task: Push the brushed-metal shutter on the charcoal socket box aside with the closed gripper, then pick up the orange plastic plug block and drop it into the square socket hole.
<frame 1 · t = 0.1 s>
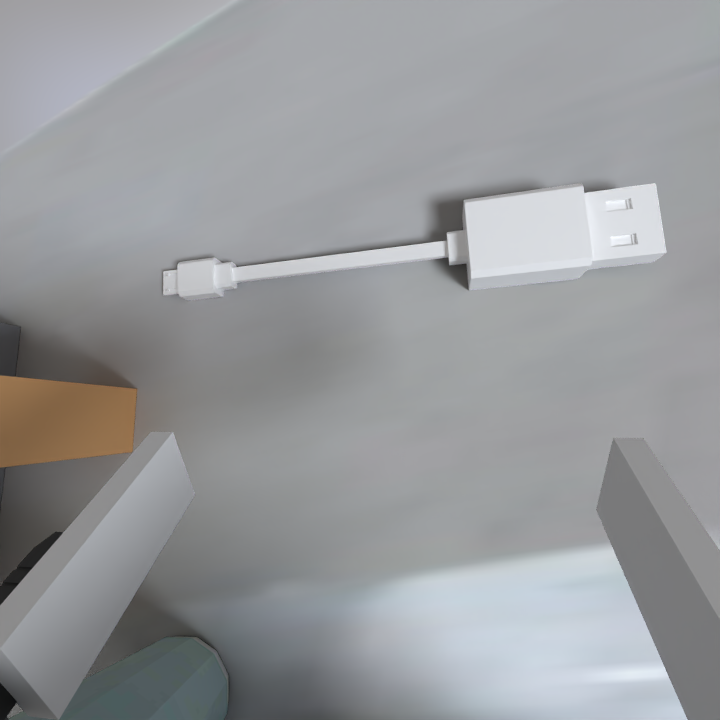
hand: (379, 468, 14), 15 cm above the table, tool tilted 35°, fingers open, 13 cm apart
charging cable: (396, 264, 31), on the table
disposable coffee cup: (182, 682, 29), on the table
plug: (106, 419, 32), on the table
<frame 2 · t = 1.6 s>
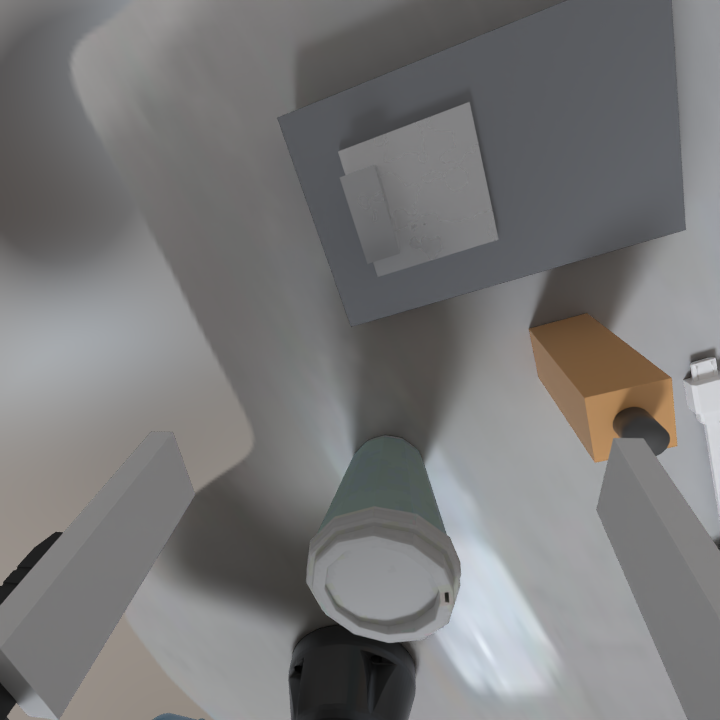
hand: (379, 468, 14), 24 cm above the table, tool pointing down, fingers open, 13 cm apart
charging cable: (715, 511, 42), on the table
disposable coffee cup: (387, 458, 42), on the table
shutter: (420, 197, 26), point 7 cm above the table, slide at 0.0 cm
plug: (561, 346, 36), on the table
socket box: (471, 174, 32), on the table
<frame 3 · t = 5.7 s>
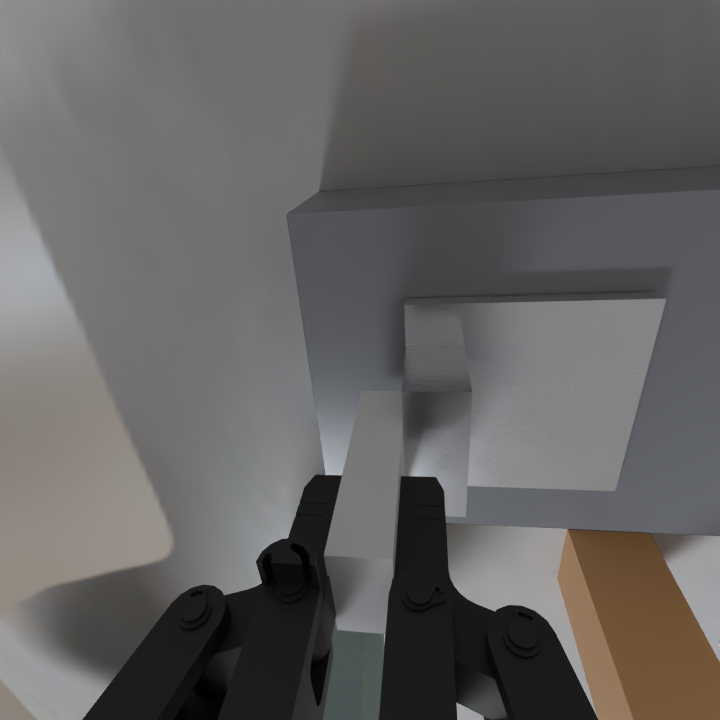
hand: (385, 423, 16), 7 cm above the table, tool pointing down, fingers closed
disposable coffee cup: (339, 603, 33), on the table
shutter: (524, 425, 15), point 7 cm above the table, slide at 0.8 cm, touching gripper
plug: (601, 556, 27), on the table
socket box: (567, 336, 20), on the table
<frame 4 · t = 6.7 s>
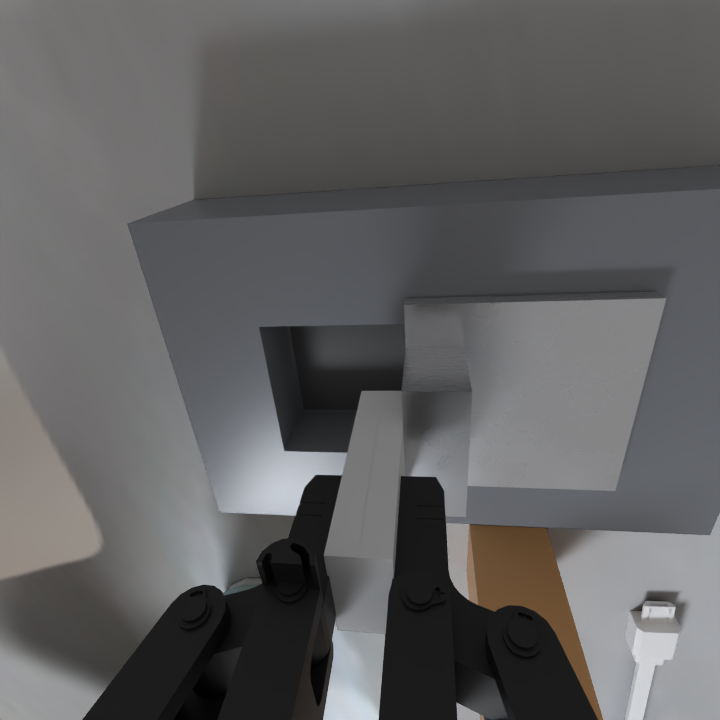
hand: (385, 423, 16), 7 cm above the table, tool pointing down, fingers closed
charging cable: (620, 719, 36), on the table
disposable coffee cup: (267, 598, 34), on the table
shutter: (524, 425, 15), point 7 cm above the table, slide at 6.5 cm, touching gripper
plug: (504, 551, 28), on the table
socket box: (442, 338, 21), on the table
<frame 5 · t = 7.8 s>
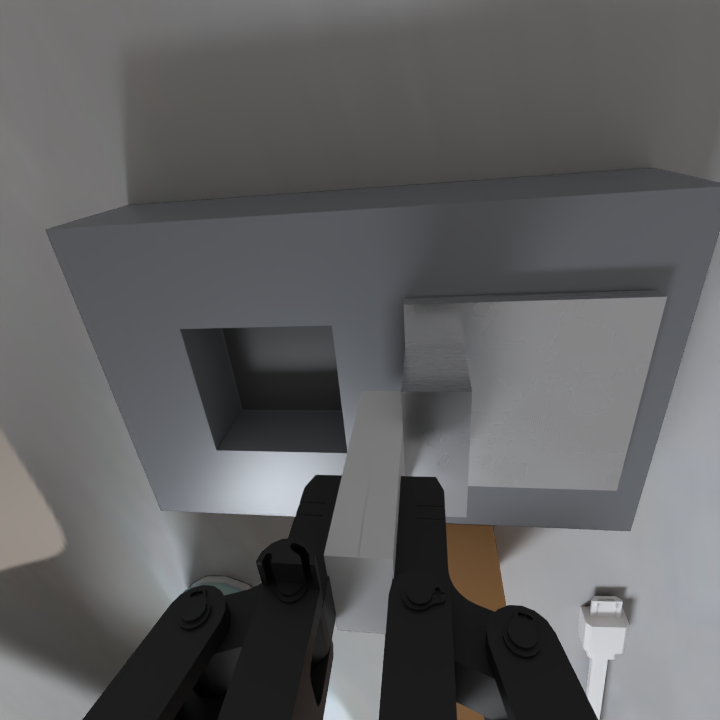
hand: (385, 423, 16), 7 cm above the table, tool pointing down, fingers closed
charging cable: (582, 714, 37), on the table
disposable coffee cup: (229, 596, 34), on the table
shutter: (525, 425, 15), point 7 cm above the table, slide at 9.7 cm, touching gripper
plug: (454, 548, 28), on the table
socket box: (377, 339, 22), on the table
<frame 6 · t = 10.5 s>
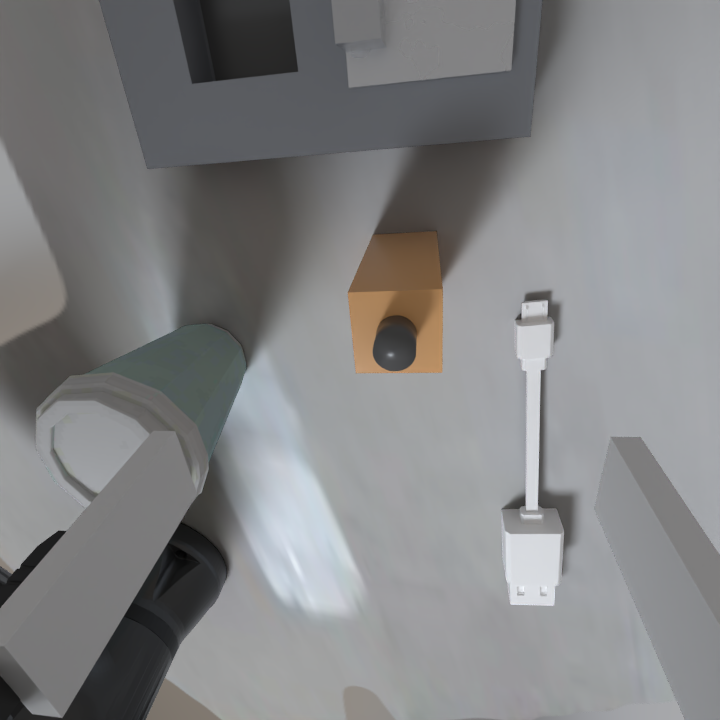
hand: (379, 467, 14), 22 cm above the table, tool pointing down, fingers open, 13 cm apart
charging cable: (528, 468, 41), on the table
disposable coffee cup: (212, 350, 38), on the table
plug: (405, 263, 32), on the table
socket box: (328, 16, 26), on the table
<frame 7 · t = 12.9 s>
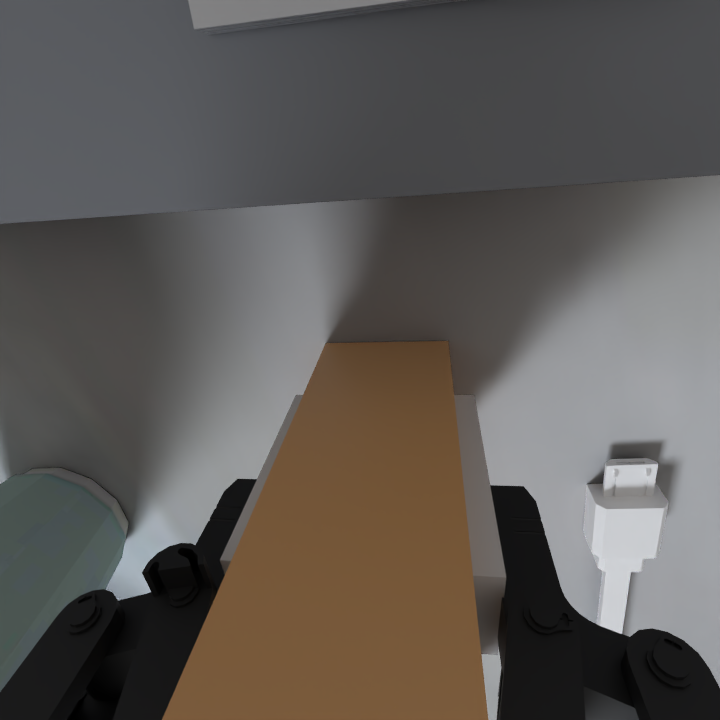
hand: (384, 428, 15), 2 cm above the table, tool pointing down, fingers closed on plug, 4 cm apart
charging cable: (589, 675, 25), on the table
disposable coffee cup: (74, 503, 23), on the table
plug: (389, 393, 17), on the table, touching gripper
when the fingers open (6 cm above the table, at t = 17.7 s): plug drops 2 cm, resting on socket box.
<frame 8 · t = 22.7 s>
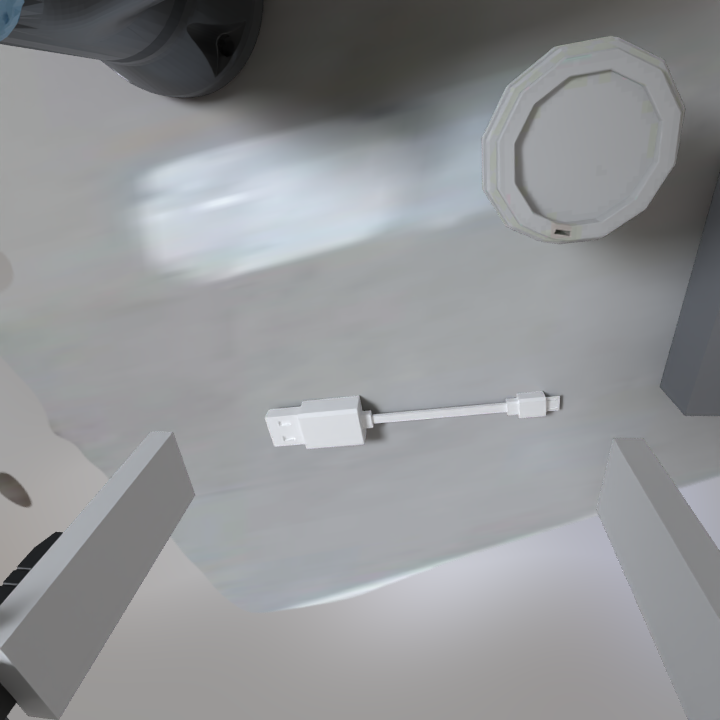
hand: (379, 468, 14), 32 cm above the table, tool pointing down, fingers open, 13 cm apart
charging cable: (402, 407, 51), on the table
disposable coffee cup: (529, 139, 36), on the table
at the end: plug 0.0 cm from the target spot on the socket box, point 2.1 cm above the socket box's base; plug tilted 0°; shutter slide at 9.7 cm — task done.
